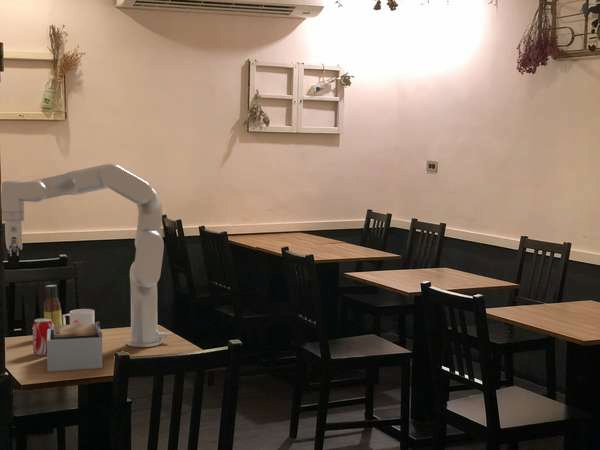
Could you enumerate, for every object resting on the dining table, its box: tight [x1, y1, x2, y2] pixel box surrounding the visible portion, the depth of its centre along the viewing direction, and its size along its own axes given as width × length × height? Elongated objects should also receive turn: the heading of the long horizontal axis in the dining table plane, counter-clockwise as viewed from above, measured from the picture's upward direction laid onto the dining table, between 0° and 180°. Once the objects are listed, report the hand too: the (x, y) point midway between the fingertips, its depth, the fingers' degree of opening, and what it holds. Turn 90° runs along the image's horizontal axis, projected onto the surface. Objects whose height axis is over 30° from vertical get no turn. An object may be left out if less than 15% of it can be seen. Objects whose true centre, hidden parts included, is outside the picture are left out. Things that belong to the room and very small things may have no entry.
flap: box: [54, 323, 96, 337], centre depth 263 cm, size 13×15×1 cm
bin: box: [46, 321, 104, 373], centre depth 263 cm, size 17×18×12 cm
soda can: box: [32, 317, 54, 357], centre depth 275 cm, size 7×7×12 cm
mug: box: [61, 308, 96, 325], centre depth 296 cm, size 12×9×11 cm
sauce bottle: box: [43, 284, 63, 325], centre depth 300 cm, size 6×6×20 cm
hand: (13, 265), depth 276 cm, fingers open, 9 cm apart
